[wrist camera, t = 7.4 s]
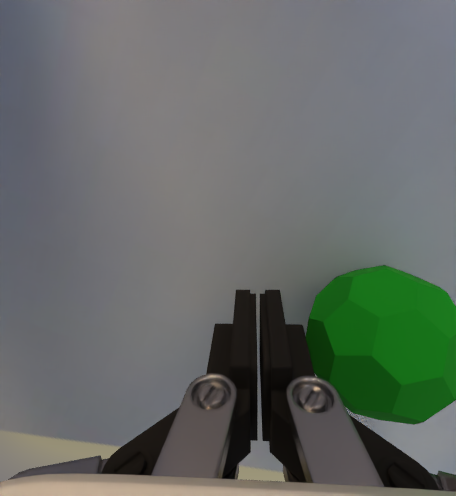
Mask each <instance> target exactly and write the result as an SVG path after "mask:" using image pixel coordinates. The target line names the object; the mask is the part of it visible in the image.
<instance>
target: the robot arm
mask: <svg viewBox="0 0 456 496" xmlns="http://www.w3.org/2000/svg"><path fill="white" fill-rule="evenodd" d="M260 379H261V408H262V436H263V441H269V445H270V453H272V454H273V455H274V456H275V457H276V458H277V459H278V460H279V461H280V462H281V463H282V464H283V473H284V478H285V482H278V481H257V480H237V478H238V473H239V462H241V461H242V460H243V459H244V458H245V457H246V456H247V455H248V454H249V453H250V452H251V440H257V329H256V294H250V290H236V296H235V307H234V319H233V324H215V327H214V333H213V338H212V344H211V350H210V356H209V362H208V367H207V373H206V374H205V375H202V376H200V377H198V378H196V379H195V380H194V381H193V382H191V384H190V385H189V387H188V388H187V391H186V393H185V395H184V398H183V400H182V402H181V405H180V407H179V408H178V409H176V410H175V411H173V412H172V413H170V414H169V415H167V416H166V417H165V418H163V419H162V420H160V421H159V422H157V423H156V424H154V425H153V426H152V427H150V428H149V429H147V430H146V431H144V432H143V433H141V434H140V435H138V436H137V437H136V438H134V439H133V440H131V441H130V442H128V443H127V444H125V445H124V446H123V447H121V448H120V449H118V450H117V451H116V452H115V453H114V454H113V455H111V457H110V458H108V459H103V460H102V459H101V456H95V457H90V458H85V459H79V460H74V461H69V462H64V463H59V464H53V465H48V466H42V467H37V468H32V469H28V470H25V471H22V472H19V473H18V474H16V475H14V476H13V477H11V478H10V479H8V480H6V481H2V482H0V496H456V475H453V474H449V473H445V472H442V471H438V474H437V475H435V474H431V473H429V472H428V471H427V470H426V469H425V468H424V467H423V466H421V465H420V464H419V463H418V462H417V461H415V460H414V459H412V458H411V457H409V456H408V455H407V454H405V453H404V452H402V451H401V450H399V449H398V448H396V447H395V446H394V445H392V444H391V443H389V442H388V441H386V440H385V439H383V438H382V437H381V436H379V435H378V434H376V433H375V432H373V431H372V430H371V429H369V428H368V427H366V426H365V425H363V424H362V423H360V422H359V421H358V420H356V419H355V418H353V417H352V416H350V415H349V414H348V412H347V410H346V408H345V406H344V404H343V402H342V400H341V398H340V396H339V394H338V392H337V391H336V389H335V388H334V387H333V386H332V385H331V384H330V383H329V382H327V381H325V380H323V379H322V378H319V377H315V374H314V370H313V366H312V362H311V358H310V353H309V349H308V345H307V341H306V337H305V333H304V329H303V326H302V325H291V324H285V319H284V312H283V306H282V300H281V294H280V290H265V294H260Z"/></svg>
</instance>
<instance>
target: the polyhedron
mask: <svg viewBox="0 0 456 496" xmlns="http://www.w3.org/2000/svg"><path fill="white" fill-rule="evenodd" d="M306 341H307V345H308V349H309V353H310V358H311V362H312V366H313V370H314V373H315V374H316V376H317V377H319V378H322V379H323V380H325V381H327V382H329V383H330V384H331V385H332V386H333V387H334V388H335V389H336V391H337V392H338V394H339V396H340V398H341V400H342V402H343V404H344V406H345V407H347V408H348V409H349V410H350V411H351V412H352V413H355V414H359V415H363V416H367V417H370V418H374V419H378V420H385V421H392V422H400V423H407V424H418V423H421V422H424V421H426V420H427V419H429V418H430V417H432V416H433V415H434V414H436V413H437V412H439V411H440V410H442V409H443V408H445V407H446V406H448V405H449V404H451V403H452V402H454V401H455V400H456V306H455V305H454V303H453V301H452V300H451V298H450V297H449V295H448V293H447V292H445V291H444V290H443V289H441V288H440V287H438V286H436V285H433V284H431V283H429V282H427V281H424V280H422V279H420V278H418V277H415V276H413V275H411V274H408V273H405V272H403V271H400V270H397V269H394V268H391V267H388V266H386V265H383V266H377V267H371V268H366V269H360V270H355V271H352V272H349V273H346V274H343V275H341V276H338V277H336V278H335V279H334V280H332V281H331V282H330V283H329V284H328V285H327V286H326V287H325V288H324V289H323V290H322V291H321V292H320V293H319V294H318V295H317V296H316V298H315V301H314V304H313V307H312V310H311V313H310V316H309V320H308V326H307V332H306Z"/></svg>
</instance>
